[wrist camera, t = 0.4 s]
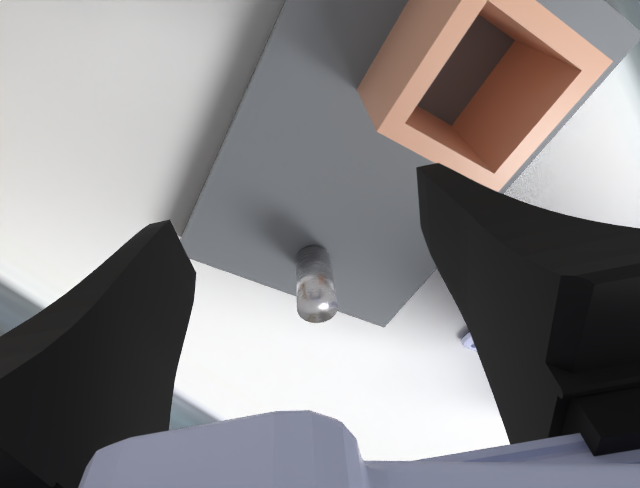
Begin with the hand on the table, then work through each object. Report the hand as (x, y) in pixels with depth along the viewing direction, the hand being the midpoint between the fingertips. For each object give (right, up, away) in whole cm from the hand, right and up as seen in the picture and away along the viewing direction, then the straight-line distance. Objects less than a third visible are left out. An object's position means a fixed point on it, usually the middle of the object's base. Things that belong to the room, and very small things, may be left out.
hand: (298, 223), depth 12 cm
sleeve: (+6, +7, +6) cm, 11 cm away
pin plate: (+4, +5, +10) cm, 11 cm away
